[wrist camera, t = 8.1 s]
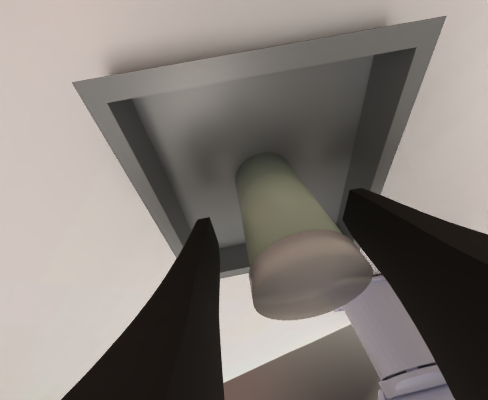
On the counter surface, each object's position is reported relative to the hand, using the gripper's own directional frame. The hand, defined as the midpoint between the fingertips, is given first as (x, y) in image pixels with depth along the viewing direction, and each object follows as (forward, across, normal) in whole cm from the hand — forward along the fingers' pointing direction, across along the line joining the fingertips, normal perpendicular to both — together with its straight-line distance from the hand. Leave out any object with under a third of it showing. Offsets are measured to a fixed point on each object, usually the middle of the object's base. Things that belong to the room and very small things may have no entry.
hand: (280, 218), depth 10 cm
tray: (+5, 0, 0) cm, 5 cm away
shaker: (+4, 0, 0) cm, 4 cm away
